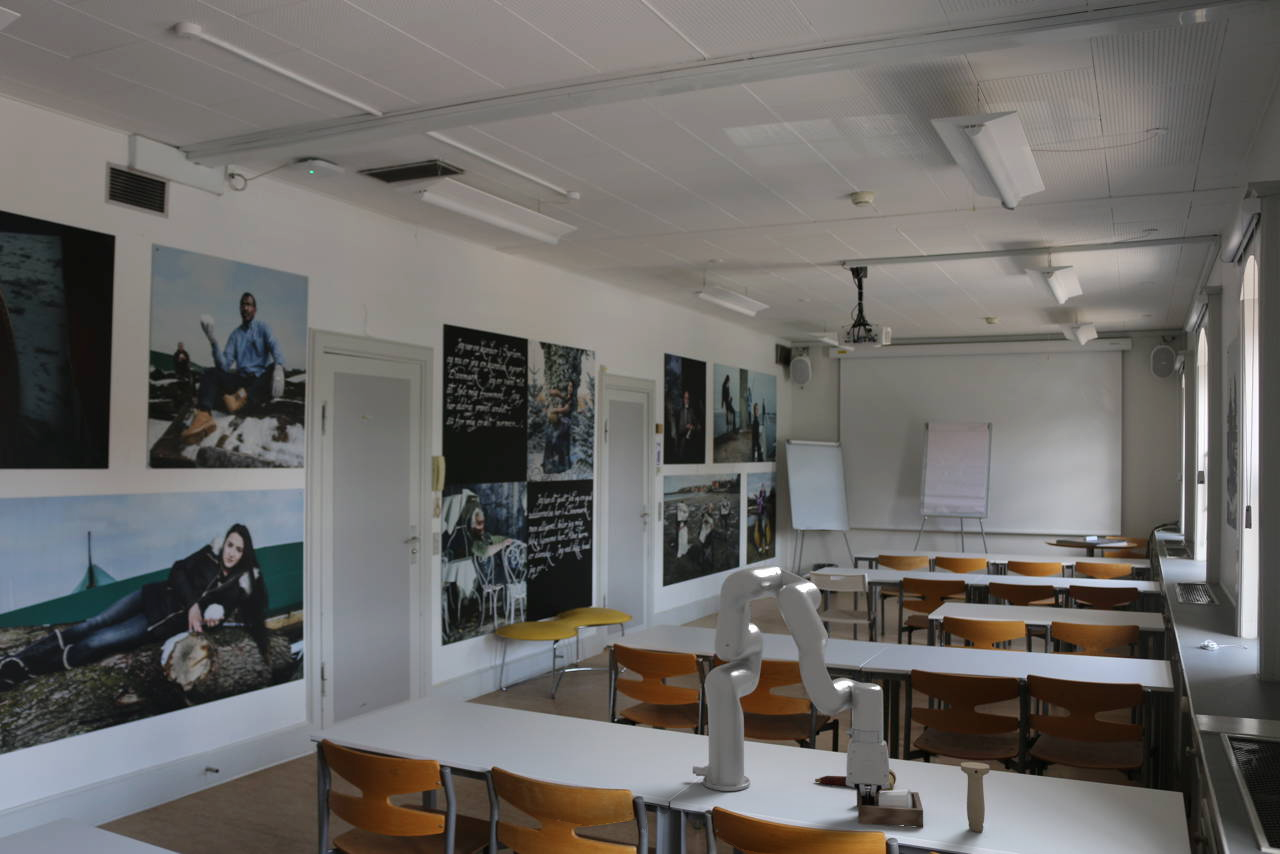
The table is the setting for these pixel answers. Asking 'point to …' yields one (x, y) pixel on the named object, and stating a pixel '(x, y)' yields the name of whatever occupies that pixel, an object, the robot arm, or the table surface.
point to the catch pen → (890, 812)
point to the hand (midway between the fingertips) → (867, 810)
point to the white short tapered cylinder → (896, 798)
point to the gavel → (842, 779)
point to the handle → (975, 793)
